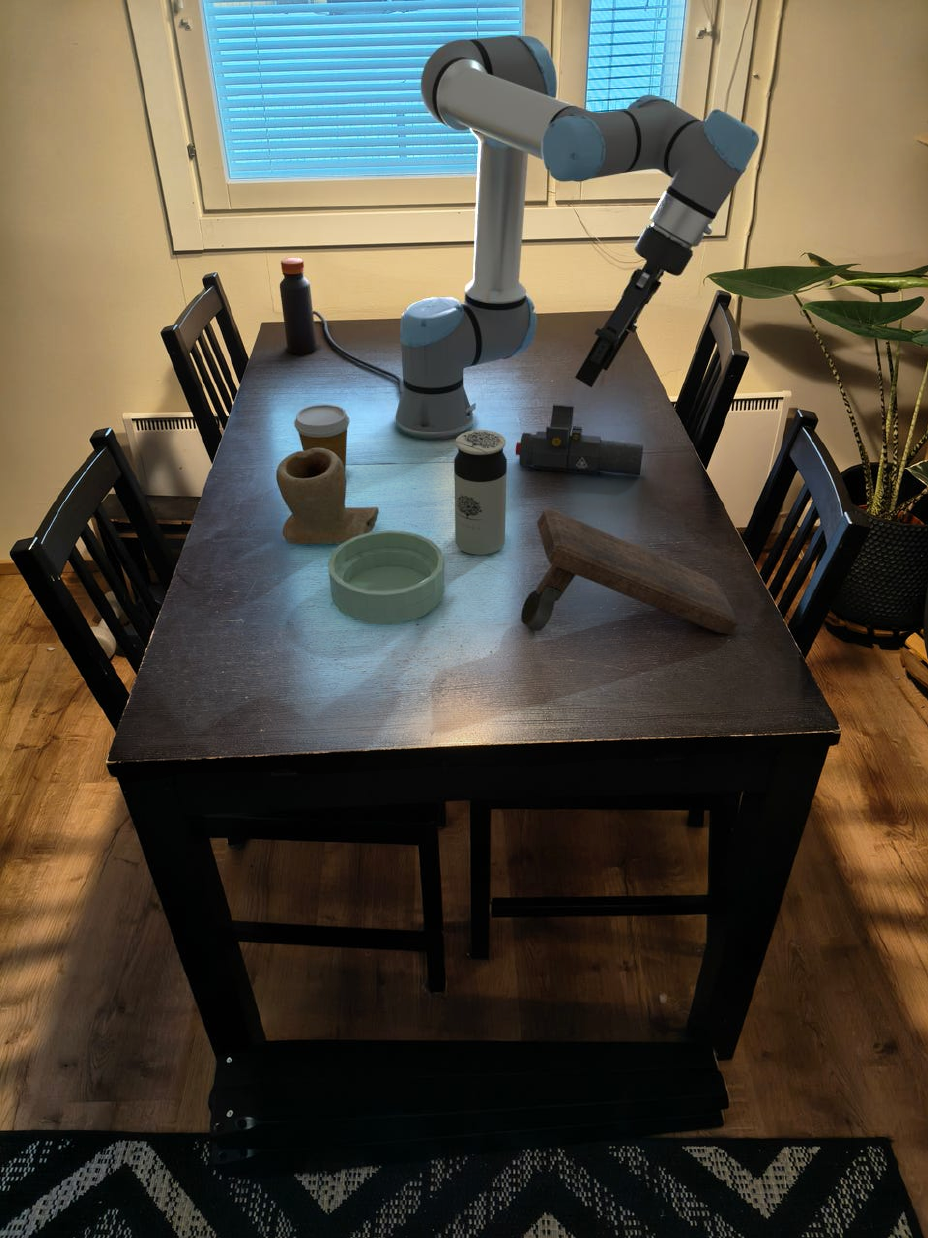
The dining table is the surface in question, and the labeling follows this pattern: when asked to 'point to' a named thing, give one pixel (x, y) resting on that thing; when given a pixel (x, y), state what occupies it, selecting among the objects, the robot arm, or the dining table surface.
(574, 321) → the dining table surface
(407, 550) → the bowl
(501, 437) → the travel mug
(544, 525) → the dark brown angled bar
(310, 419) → the disposable coffee cup
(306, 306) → the water bottle
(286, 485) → the stone cup
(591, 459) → the laser sight
